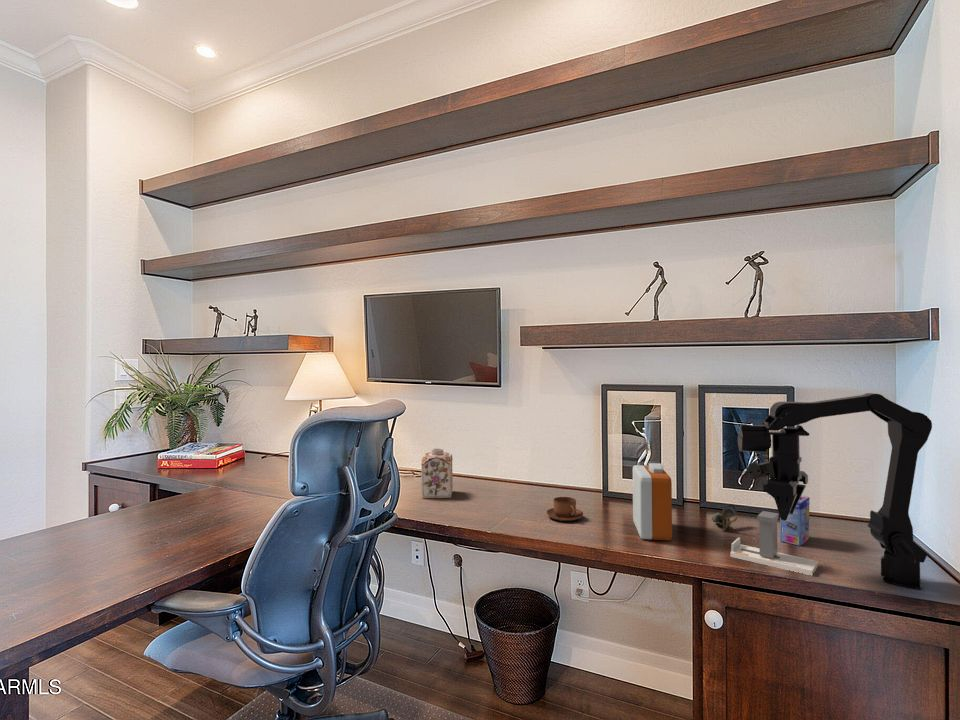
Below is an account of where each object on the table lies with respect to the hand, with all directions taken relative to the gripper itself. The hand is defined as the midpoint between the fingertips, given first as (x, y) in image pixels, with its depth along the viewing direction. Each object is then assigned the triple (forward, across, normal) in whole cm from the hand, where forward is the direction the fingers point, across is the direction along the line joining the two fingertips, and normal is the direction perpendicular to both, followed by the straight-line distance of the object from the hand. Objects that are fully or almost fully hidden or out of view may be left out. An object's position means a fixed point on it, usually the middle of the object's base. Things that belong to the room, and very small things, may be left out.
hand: (786, 516), depth 121 cm
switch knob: (+12, -4, -5) cm, 13 cm away
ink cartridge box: (+13, -26, -3) cm, 29 cm away
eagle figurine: (+13, -24, -21) cm, 35 cm away
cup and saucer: (+13, 0, -64) cm, 65 cm away
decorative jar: (+13, +9, -118) cm, 119 cm away
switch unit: (+13, -4, -4) cm, 14 cm away
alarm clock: (+13, -6, -37) cm, 40 cm away
